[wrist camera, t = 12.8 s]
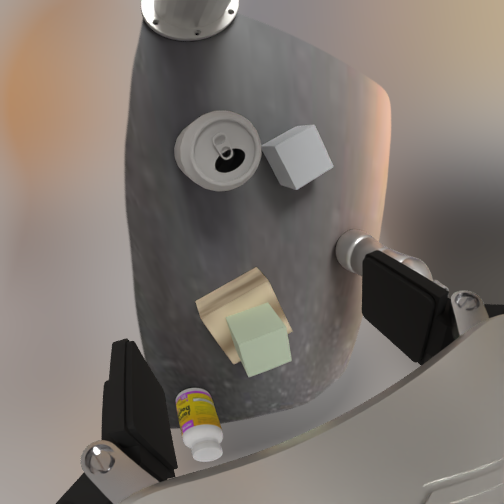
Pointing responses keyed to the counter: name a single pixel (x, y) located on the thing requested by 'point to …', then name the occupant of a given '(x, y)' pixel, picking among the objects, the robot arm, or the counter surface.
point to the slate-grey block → (297, 156)
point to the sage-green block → (259, 339)
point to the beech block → (236, 306)
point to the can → (218, 150)
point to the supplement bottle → (199, 424)
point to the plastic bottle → (361, 243)
